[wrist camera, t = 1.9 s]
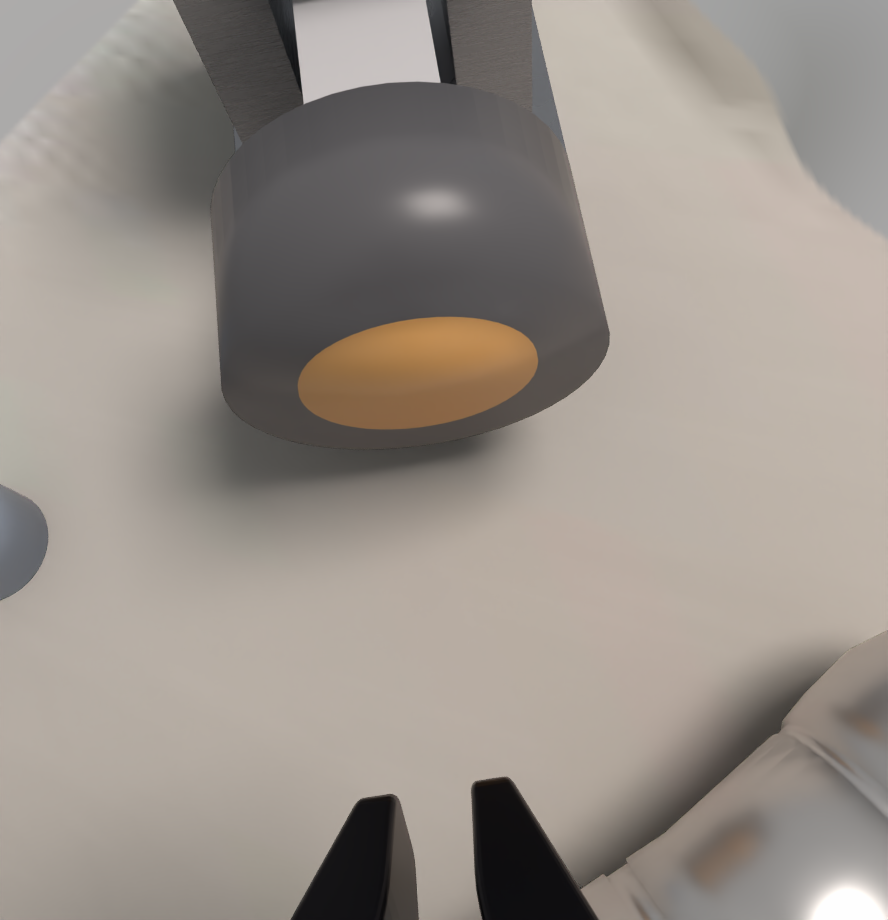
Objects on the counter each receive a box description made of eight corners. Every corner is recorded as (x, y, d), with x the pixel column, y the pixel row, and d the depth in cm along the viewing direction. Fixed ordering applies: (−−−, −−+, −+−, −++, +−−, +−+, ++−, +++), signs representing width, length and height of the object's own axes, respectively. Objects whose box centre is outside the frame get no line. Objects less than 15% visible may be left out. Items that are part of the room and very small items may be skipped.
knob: (597, 419, 21) (630, 238, 14) (285, 473, 22) (151, 325, 14) (508, 21, 26) (497, -281, 18) (250, 72, 26) (134, -204, 19)
